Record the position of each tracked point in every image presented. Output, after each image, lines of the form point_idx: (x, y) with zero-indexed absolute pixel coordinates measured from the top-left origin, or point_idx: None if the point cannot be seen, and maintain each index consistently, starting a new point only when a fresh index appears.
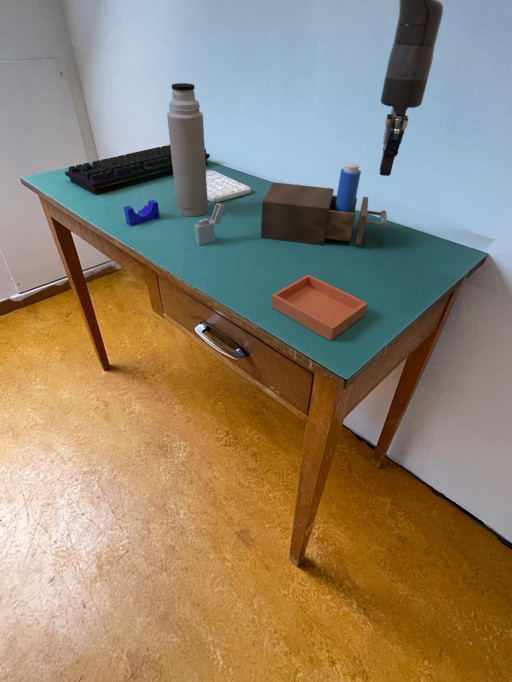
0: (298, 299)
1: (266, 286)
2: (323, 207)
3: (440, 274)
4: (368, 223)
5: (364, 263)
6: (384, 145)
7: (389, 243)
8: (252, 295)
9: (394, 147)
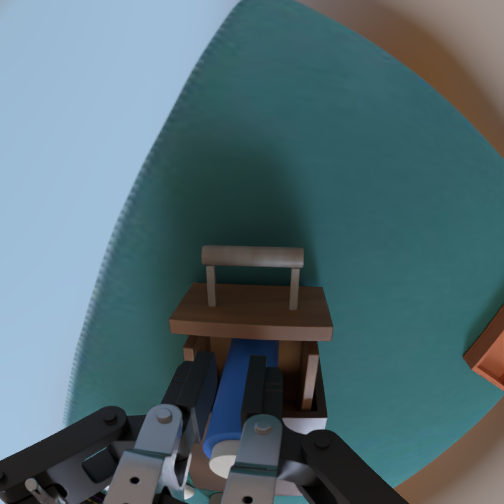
0: (496, 359)
1: (456, 400)
2: (322, 426)
3: (402, 99)
4: (297, 299)
5: (388, 271)
6: (186, 472)
7: (267, 207)
8: (471, 405)
9: (179, 436)
